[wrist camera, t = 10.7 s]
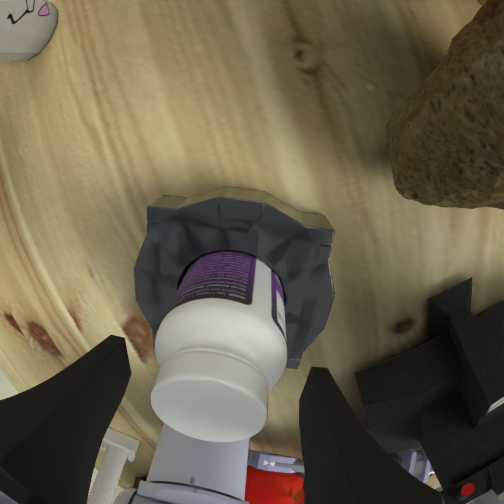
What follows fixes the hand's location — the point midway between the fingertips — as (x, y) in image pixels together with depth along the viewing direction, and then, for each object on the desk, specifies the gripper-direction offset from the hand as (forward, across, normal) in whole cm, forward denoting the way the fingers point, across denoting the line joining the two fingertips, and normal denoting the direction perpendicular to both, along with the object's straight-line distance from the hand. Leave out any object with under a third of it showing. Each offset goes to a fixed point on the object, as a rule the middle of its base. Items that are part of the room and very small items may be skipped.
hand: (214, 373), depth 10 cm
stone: (+8, -10, -12) cm, 18 cm away
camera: (+8, -18, +5) cm, 20 cm away
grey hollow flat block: (+8, 0, 0) cm, 8 cm away
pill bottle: (+8, 0, 0) cm, 8 cm away
